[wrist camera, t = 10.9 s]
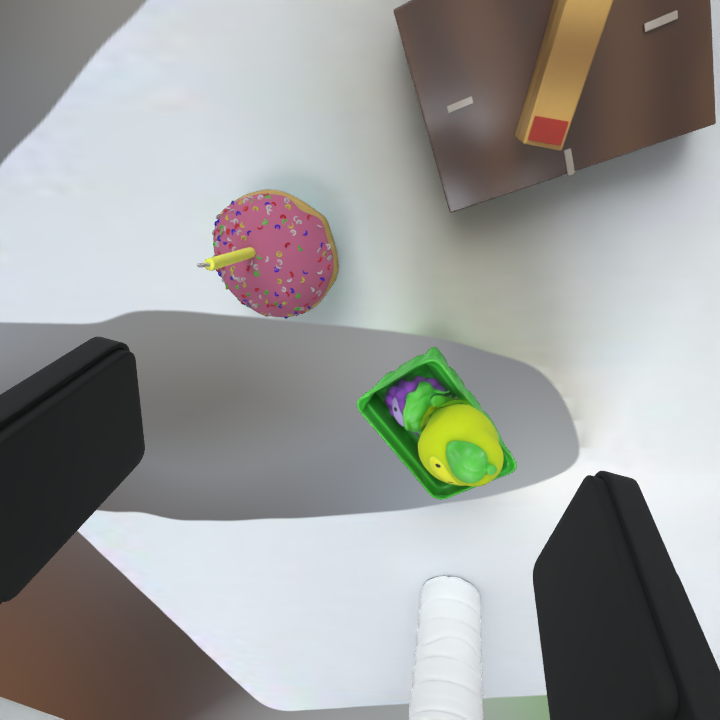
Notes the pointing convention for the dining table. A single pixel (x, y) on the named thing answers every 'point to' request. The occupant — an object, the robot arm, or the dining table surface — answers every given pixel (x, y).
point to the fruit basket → (436, 427)
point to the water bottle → (448, 653)
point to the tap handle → (561, 71)
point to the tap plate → (513, 75)
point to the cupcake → (274, 253)
